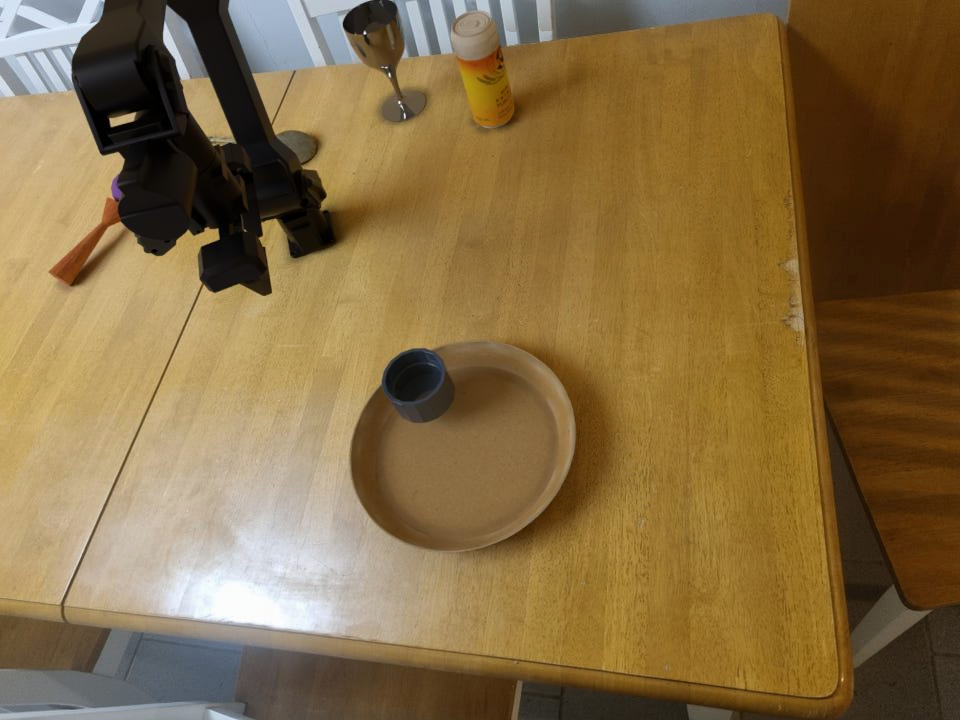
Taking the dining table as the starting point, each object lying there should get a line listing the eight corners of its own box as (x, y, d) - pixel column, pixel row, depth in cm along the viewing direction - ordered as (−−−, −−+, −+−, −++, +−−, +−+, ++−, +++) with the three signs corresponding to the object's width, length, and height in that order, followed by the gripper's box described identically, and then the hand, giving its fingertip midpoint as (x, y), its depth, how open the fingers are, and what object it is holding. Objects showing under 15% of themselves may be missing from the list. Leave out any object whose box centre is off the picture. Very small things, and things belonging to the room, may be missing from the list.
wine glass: (378, 95, 115) (342, 7, 103) (427, 83, 114) (397, -7, 102) (378, 128, 111) (341, 40, 98) (429, 116, 110) (398, 25, 97)
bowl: (390, 382, 81) (376, 361, 77) (447, 361, 81) (436, 339, 77) (402, 434, 77) (388, 414, 73) (463, 412, 77) (452, 391, 73)
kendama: (32, 262, 105) (121, 160, 112) (67, 287, 110) (150, 187, 116) (50, 269, 102) (140, 163, 108) (85, 294, 106) (169, 191, 112)
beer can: (511, 130, 104) (489, 35, 92) (470, 131, 106) (443, 39, 93) (518, 101, 107) (498, 6, 95) (479, 103, 109) (453, 10, 96)
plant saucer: (333, 550, 75) (320, 539, 73) (387, 353, 88) (378, 337, 85) (566, 575, 69) (561, 564, 66) (589, 358, 81) (586, 341, 78)
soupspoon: (305, 174, 110) (325, 145, 113) (297, 156, 107) (318, 127, 110) (190, 156, 117) (212, 130, 120) (180, 139, 114) (202, 112, 118)
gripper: (111, 133, 76) (193, 233, 89) (109, 259, 65) (202, 352, 78) (211, 94, 75) (278, 201, 88) (225, 214, 65) (299, 315, 78)
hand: (263, 264), depth 83 cm, fingers open, 9 cm apart
